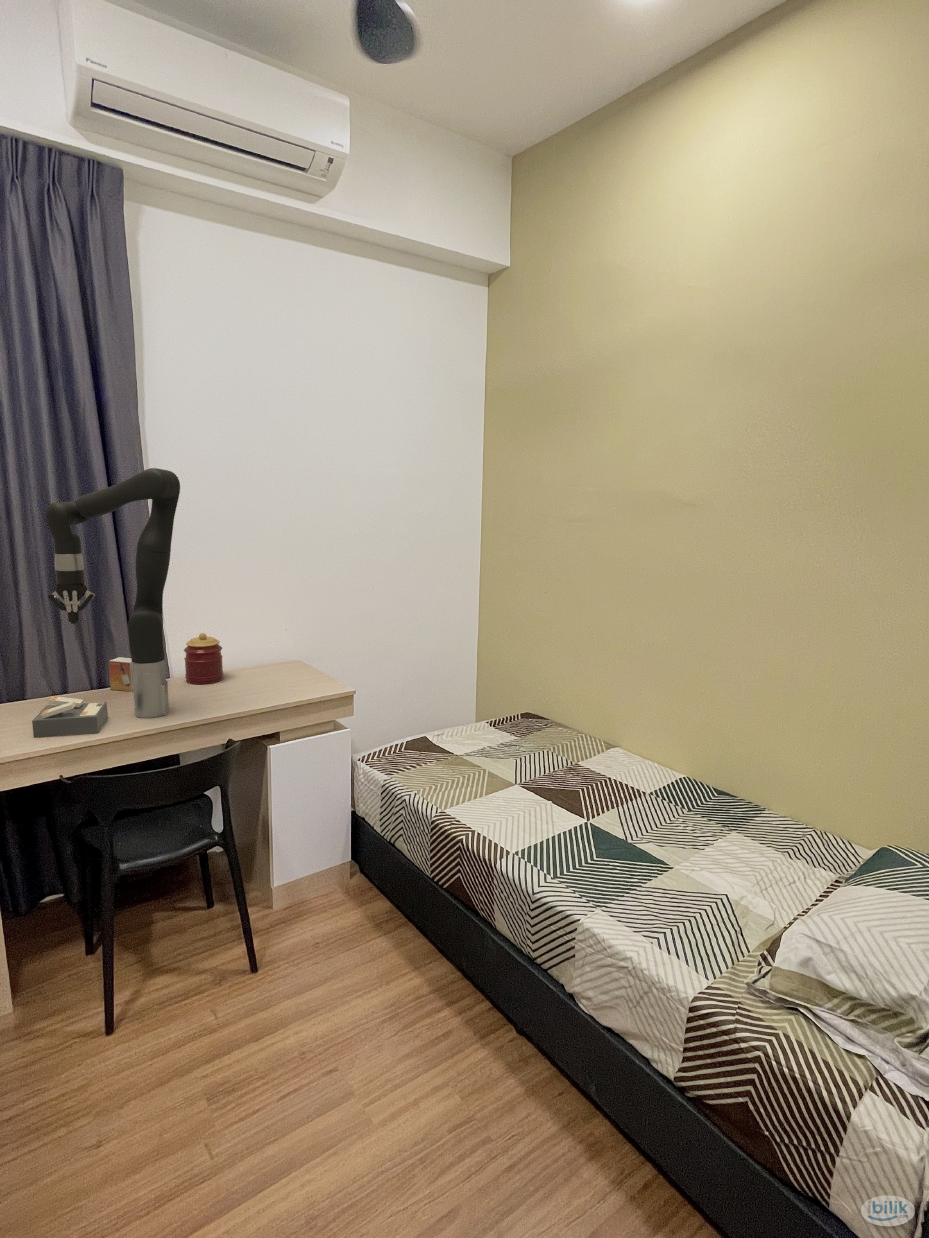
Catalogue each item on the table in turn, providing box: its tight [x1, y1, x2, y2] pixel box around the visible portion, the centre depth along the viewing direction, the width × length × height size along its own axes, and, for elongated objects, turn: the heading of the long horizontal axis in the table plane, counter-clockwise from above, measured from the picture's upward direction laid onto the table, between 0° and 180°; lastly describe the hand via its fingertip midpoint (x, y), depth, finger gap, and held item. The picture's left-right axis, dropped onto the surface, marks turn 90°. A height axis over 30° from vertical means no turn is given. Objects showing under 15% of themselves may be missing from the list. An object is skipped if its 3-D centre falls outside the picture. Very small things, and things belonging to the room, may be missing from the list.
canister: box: [183, 632, 224, 685], centre depth 237 cm, size 13×13×18 cm
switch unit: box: [31, 701, 109, 739], centre depth 189 cm, size 16×13×6 cm
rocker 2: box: [41, 701, 76, 718], centre depth 184 cm, size 8×4×1 cm, turn 107°
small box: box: [108, 656, 134, 693], centre depth 224 cm, size 8×6×10 cm
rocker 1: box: [48, 695, 84, 707], centre depth 191 cm, size 8×4×1 cm, turn 108°
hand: (74, 623), depth 202 cm, fingers closed
